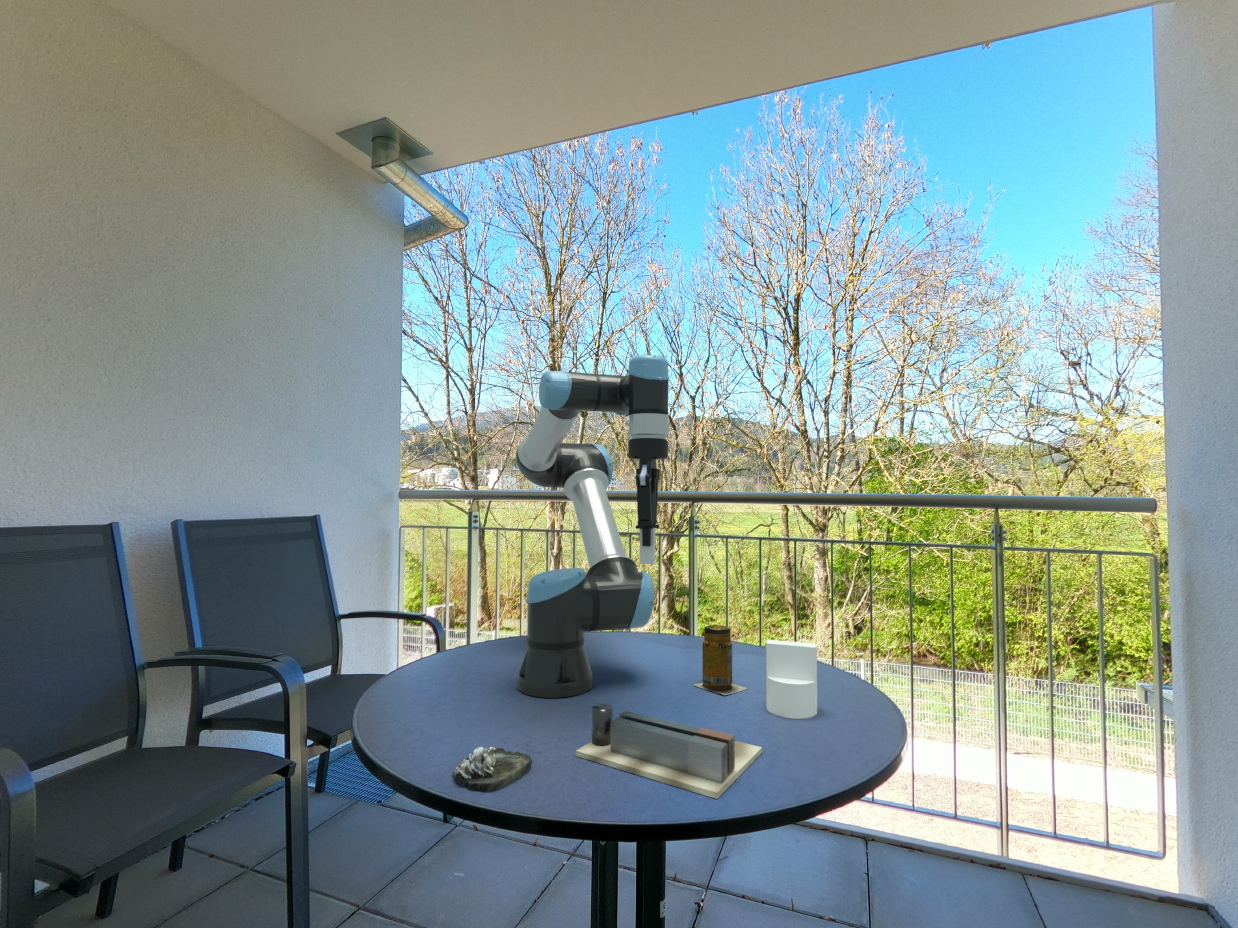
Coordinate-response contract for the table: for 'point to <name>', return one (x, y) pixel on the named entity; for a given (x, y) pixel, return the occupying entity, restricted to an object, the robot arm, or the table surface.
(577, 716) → the table surface
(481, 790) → the log
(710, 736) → the tong arm
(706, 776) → the tongs fixed
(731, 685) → the condiment
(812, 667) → the base with upright slab
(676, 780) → the board
